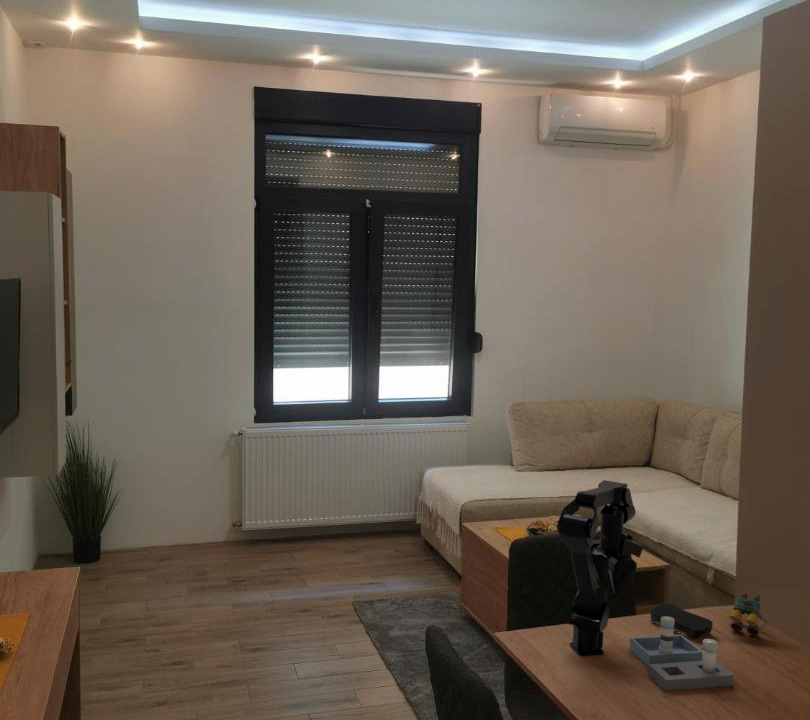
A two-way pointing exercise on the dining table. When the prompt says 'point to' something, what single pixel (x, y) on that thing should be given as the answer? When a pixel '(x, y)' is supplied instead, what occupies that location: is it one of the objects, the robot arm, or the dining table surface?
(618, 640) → the dining table surface
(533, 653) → the dining table surface
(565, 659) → the dining table surface
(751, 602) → the binoculars
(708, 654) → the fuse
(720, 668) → the fuse holder
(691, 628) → the black sponge
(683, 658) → the parts tray
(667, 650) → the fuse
